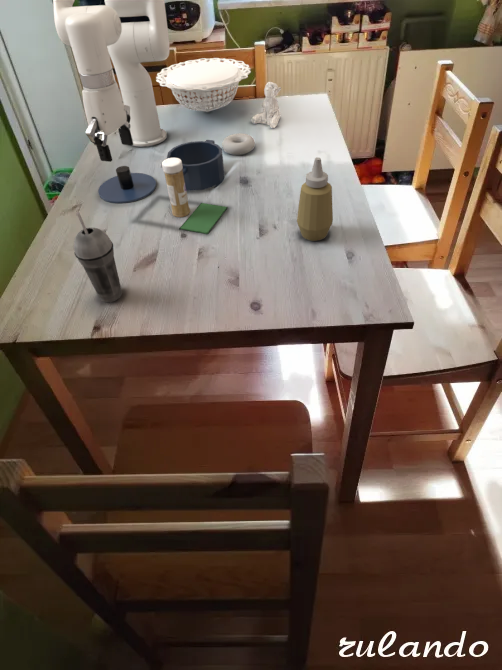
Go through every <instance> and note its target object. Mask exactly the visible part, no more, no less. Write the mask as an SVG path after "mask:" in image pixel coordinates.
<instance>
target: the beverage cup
mask: <svg viewBox="0 0 502 670" xmlns="http://www.w3.org/2000/svg"><path fill="white" fill-rule="evenodd" d="M76 215H77V218H78V220H79V223H80V225H81V227H82V229H81V230H79V232H78V233H77V234H76V236H75V237H74V239H73V251H74V253H73V254H74V256H75V258H76V259H77V261H78V262H79V263H80V265H82V268H83V269H84V271H85V273H86V275H87V277H88V279H89V281H90V283H91V284H92V286H93V288H94V290H95V292H96V294H97V296H98V297H99V299H100V301H102V302H103V303H113V302H115V301H118V300H119V299H120V298H121V297H122V294H123V293H122V287H121V286H122V285H121V282H120V278H119V273H118V269H117V265H116V259H115V250H114V243H113V242H112V240H111V238H110V237H109V235H108V234H107V233H106V232H105V231H104V230H102V229H100V228H97V227H86V224H85V223H84V220H83V217H82V216H81V214H80V211H77V212H76Z"/></svg>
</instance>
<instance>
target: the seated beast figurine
mask: <svg viewBox="0 0 502 670" xmlns="http://www.w3.org/2000/svg"><path fill="white" fill-rule="evenodd" d="M281 90H282V86H279V85H278V84H277V83H275V82H272V81H268V82H267V81H266V84H265V86H264V89H263V91H264V92H263V94H264V96H265V98H264V99H263V101H262V104H261V106H262V108H263V109H262V112H260V113H256V114H254V115H253V116H252V117H251V123H252V124H254V125H255V124H264V125H268V126H270V127H269V128H271V129H275V128H276V127H277V125H278V124H279V121H280V118H281V116H282V113H281V109H280V106H279V102H278V100H277V98H276V97H277V96H278V94H279V93H280V91H281Z"/></svg>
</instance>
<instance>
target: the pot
mask: <svg viewBox="0 0 502 670" xmlns="http://www.w3.org/2000/svg"><path fill="white" fill-rule="evenodd" d="M168 158H179V159H180V160H181V161H182V166H183V170H182V171H183V177H184V182H185V186H186V191H192V192H193V191H203V190H208V189H211V188H214V189H215V188H217V187H219V186H220V185H221V184H223V182H224V180H225V178H226V177H225V165H224V154H223V147H222V146H220V145H219V144H217V143H216V142H215V140H214V139H205V140H196V141H189V142H184V143H180V144H178V145H176V146H174V147H172V148H171V149H170V150H169V151H168V152H167V155H166V159H168Z"/></svg>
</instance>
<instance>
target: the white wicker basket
mask: <svg viewBox="0 0 502 670" xmlns="http://www.w3.org/2000/svg"><path fill="white" fill-rule="evenodd" d="M251 70H252V69H251V67H250V65H249V64H246V63H245V61H243V60H236V59H234V58H226V57H224V58H221V57H220V58H219V57H213V58H205V57H204V58H203V57H202V58H198V59H197V58H196V59H189V60H185V61H183V62H179V63H174V64H171V65H170V66H167V67H164V68H162V69H161V70H160V71H159V72H157V74H156V76H155V81H156V82H157V83H158V84H159V86H160V87H167V88H168V89H170V90H171V93H172V95H173V96H174V98H175V100H176V101H177V102H178V103H179V104H180V106H182V107H184V108H185V109H188V110H191V111H197V112H205V113H210V112H211V111H214V110H218V109H221V108H225V107H226V106H228V105H229V104H230V103H231V102H232V101H233V100H234V99H235V96H236V94H237V91H238V89H239V83H240V82H241V81H242V80H245V79H248V78H249V76H248V75H250V74H251V73H252V71H251ZM185 96H186V97H185Z"/></svg>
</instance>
